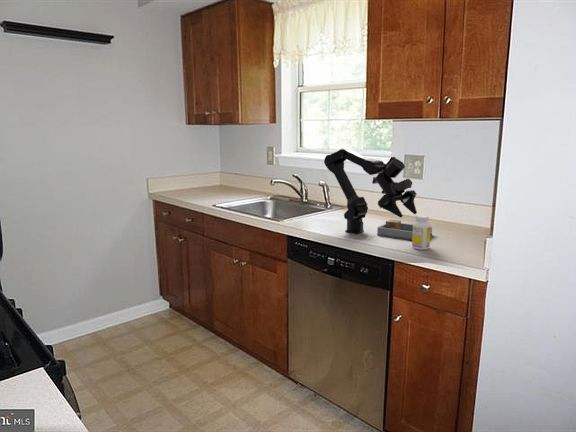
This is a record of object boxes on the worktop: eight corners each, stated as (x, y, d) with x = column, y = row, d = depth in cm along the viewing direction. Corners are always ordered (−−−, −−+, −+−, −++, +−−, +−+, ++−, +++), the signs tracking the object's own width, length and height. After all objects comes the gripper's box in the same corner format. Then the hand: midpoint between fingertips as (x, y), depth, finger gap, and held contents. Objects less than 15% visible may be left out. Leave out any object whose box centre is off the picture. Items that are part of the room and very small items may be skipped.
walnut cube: (385, 232, 193) (385, 221, 192) (390, 230, 197) (390, 219, 196) (395, 233, 190) (396, 222, 189) (400, 231, 194) (400, 220, 193)
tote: (377, 234, 191) (377, 227, 190) (390, 228, 202) (390, 221, 201) (420, 241, 179) (421, 233, 179) (431, 234, 190) (432, 227, 189)
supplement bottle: (426, 245, 174) (427, 214, 171) (432, 250, 167) (433, 217, 165) (409, 245, 174) (411, 214, 171) (414, 250, 167) (416, 218, 164)
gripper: (384, 174, 168) (407, 206, 161) (413, 170, 179) (435, 200, 173) (368, 192, 175) (389, 223, 169) (397, 187, 187) (418, 216, 180)
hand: (408, 215), depth 173 cm, fingers open, 9 cm apart
